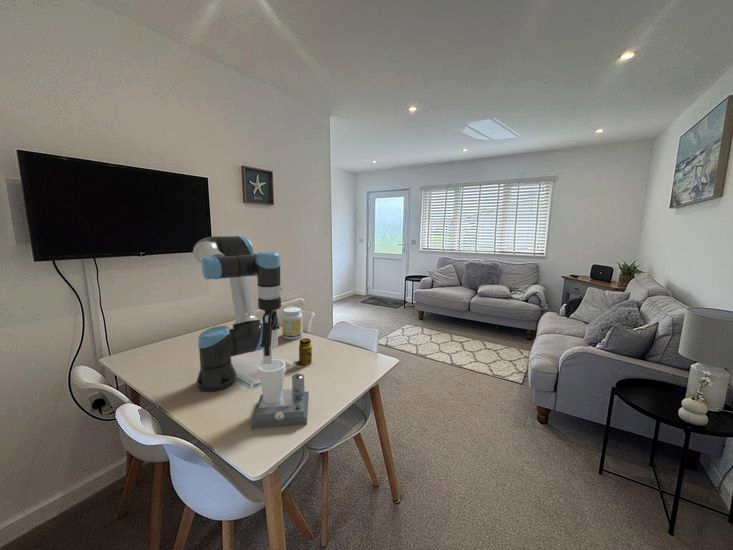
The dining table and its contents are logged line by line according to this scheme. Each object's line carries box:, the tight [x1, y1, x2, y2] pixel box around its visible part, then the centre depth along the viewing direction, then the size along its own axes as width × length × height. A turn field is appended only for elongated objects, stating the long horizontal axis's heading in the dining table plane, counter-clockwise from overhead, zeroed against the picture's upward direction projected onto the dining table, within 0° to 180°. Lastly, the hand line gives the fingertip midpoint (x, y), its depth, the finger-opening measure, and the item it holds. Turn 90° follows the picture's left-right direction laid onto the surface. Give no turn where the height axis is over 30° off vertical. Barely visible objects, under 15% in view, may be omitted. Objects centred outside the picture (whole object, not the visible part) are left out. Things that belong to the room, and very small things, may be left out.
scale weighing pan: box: [259, 387, 306, 408], centre depth 108 cm, size 15×11×2 cm
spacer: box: [291, 373, 305, 400], centre depth 108 cm, size 4×4×8 cm
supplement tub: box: [281, 306, 304, 340], centre depth 177 cm, size 12×12×17 cm
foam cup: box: [257, 358, 286, 403], centre depth 106 cm, size 10×9×13 cm
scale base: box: [251, 390, 310, 430], centre depth 106 cm, size 18×16×6 cm
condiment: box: [292, 337, 315, 369], centre depth 143 cm, size 7×8×12 cm
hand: (271, 354), depth 105 cm, fingers open, 13 cm apart
